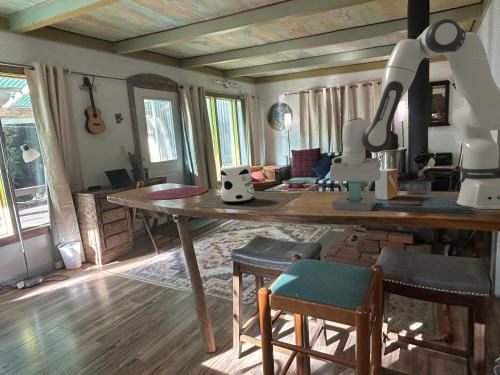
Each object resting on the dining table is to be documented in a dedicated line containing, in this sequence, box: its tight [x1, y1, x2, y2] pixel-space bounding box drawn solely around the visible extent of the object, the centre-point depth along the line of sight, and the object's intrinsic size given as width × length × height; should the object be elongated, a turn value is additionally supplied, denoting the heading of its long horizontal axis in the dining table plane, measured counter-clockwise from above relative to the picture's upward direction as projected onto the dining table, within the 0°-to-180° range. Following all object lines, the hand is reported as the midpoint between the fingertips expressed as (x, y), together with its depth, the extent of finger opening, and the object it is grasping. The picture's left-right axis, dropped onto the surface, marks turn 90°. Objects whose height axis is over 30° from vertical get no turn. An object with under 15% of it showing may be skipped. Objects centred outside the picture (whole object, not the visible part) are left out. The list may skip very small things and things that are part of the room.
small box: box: [374, 168, 399, 201], centre depth 146 cm, size 8×6×13 cm
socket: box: [331, 194, 378, 212], centre depth 136 cm, size 15×15×3 cm
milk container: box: [219, 164, 255, 204], centre depth 163 cm, size 17×17×18 cm
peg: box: [348, 181, 362, 201], centre depth 135 cm, size 4×4×10 cm
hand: (354, 191), depth 135 cm, fingers open, 8 cm apart
